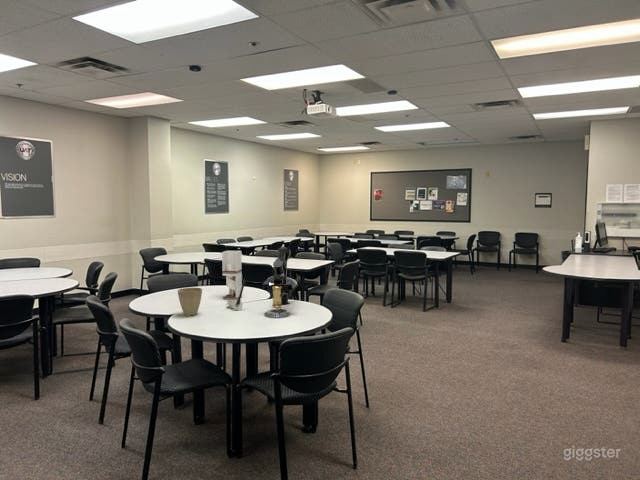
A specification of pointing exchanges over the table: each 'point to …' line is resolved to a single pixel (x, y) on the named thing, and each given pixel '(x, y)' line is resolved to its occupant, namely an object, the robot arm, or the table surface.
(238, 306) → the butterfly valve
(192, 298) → the plant pot
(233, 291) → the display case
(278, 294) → the gold flared cylinder
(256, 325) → the table surface
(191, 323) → the table surface
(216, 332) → the table surface
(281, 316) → the flange
